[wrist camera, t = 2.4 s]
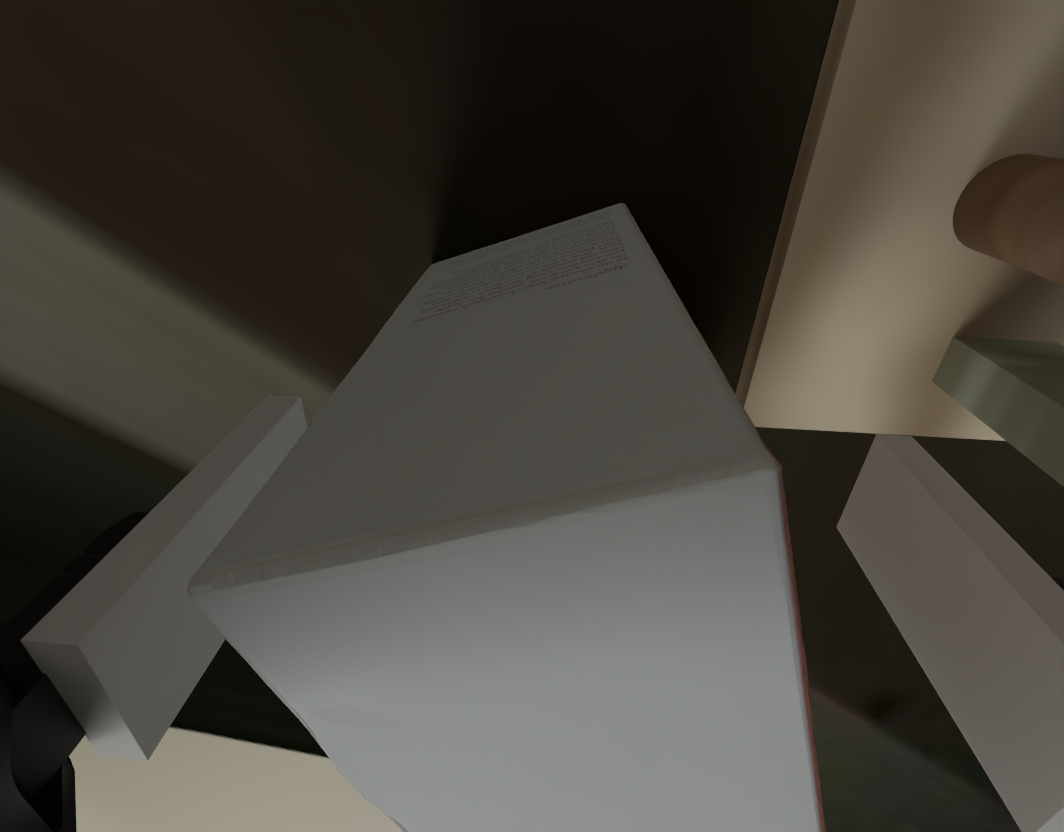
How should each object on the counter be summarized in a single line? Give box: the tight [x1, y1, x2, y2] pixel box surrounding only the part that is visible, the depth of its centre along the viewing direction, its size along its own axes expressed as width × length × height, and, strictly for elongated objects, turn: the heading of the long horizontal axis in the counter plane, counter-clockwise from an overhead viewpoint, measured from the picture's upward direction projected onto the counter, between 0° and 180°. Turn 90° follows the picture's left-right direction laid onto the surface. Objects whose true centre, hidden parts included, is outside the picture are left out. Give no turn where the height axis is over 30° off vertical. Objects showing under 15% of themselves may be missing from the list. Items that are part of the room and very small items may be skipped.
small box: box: [187, 203, 826, 832], centre depth 12 cm, size 8×6×13 cm
